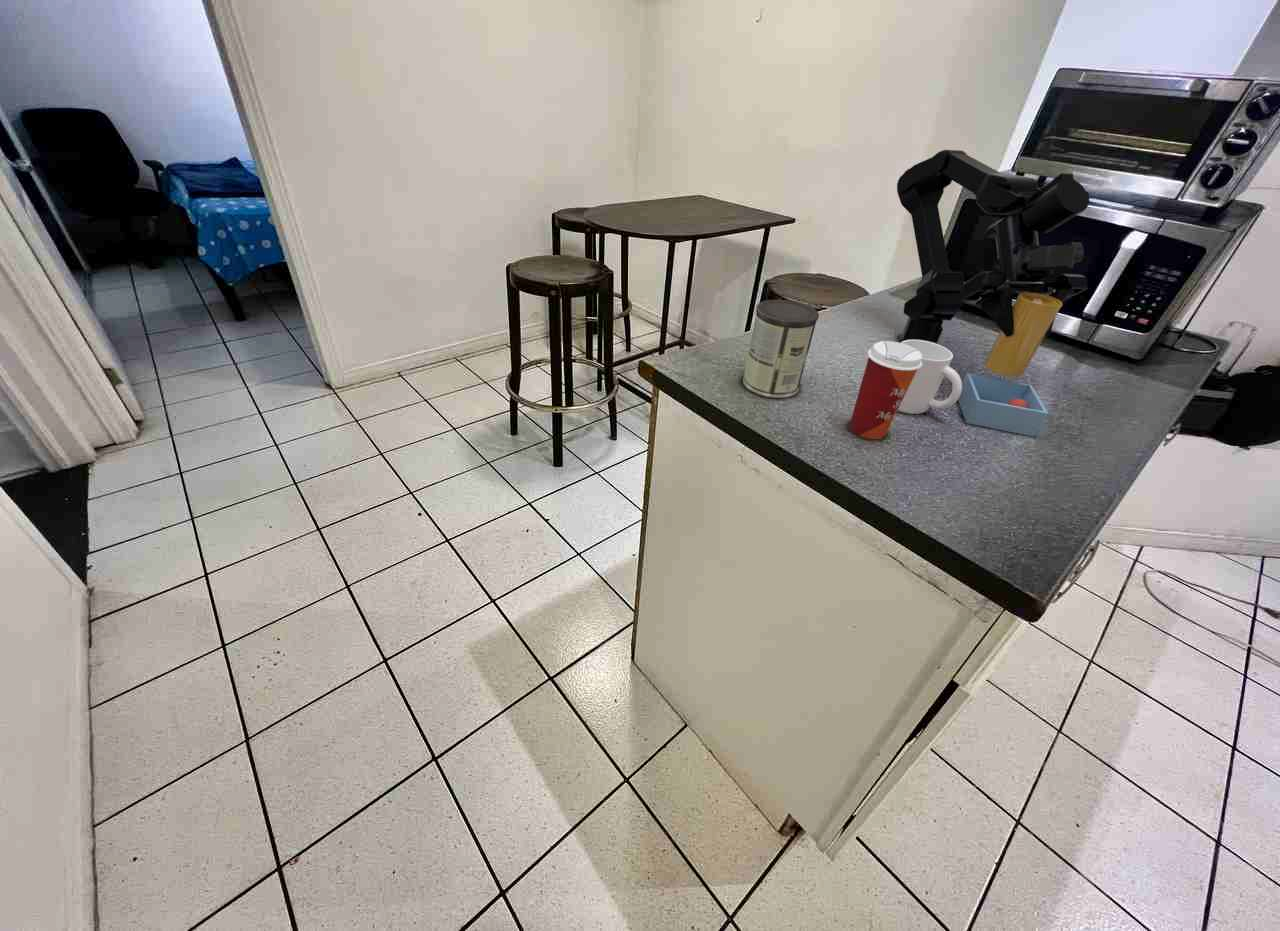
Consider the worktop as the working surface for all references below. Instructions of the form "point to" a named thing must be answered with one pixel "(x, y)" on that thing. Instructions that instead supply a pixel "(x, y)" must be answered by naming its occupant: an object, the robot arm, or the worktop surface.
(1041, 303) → the tall tapered cup
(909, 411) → the mug
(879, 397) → the paper cup
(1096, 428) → the worktop surface
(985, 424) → the bin
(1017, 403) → the toy ball
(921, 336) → the robot arm
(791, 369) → the coffee can
